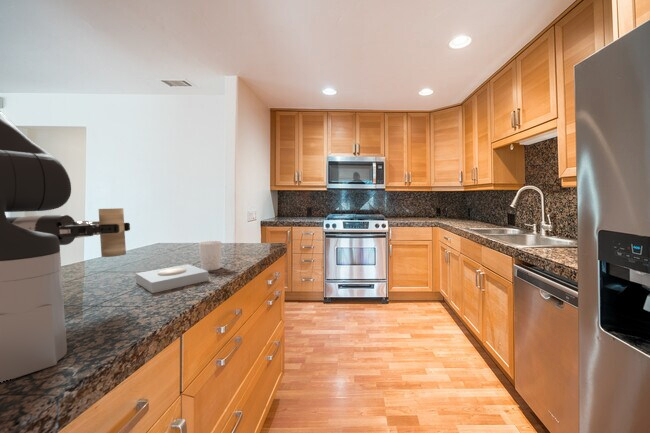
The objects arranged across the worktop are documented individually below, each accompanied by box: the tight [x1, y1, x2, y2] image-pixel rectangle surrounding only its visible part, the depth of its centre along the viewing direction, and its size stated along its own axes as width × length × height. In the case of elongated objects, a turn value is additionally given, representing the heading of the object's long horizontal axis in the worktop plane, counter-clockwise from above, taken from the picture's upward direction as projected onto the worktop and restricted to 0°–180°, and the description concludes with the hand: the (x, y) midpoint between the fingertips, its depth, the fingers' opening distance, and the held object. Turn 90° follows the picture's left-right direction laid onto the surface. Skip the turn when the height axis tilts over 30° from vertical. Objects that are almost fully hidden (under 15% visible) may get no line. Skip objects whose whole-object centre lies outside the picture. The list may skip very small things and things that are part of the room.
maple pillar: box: [98, 207, 127, 258], centre depth 70 cm, size 5×5×12 cm
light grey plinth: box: [135, 263, 210, 294], centre depth 88 cm, size 16×16×3 cm
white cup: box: [198, 240, 222, 272], centre depth 104 cm, size 8×8×10 cm
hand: (123, 227), depth 71 cm, fingers closed on maple pillar, 5 cm apart
